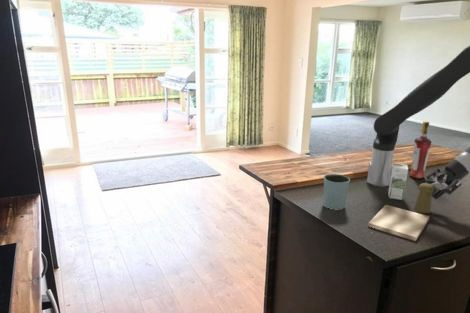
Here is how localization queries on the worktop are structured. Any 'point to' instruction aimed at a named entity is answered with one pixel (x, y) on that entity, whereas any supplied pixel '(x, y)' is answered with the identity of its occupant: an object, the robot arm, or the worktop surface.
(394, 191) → the syrup box
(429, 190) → the cork
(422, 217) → the birch board
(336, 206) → the blue-grey cup
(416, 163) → the liquor
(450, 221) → the worktop surface
